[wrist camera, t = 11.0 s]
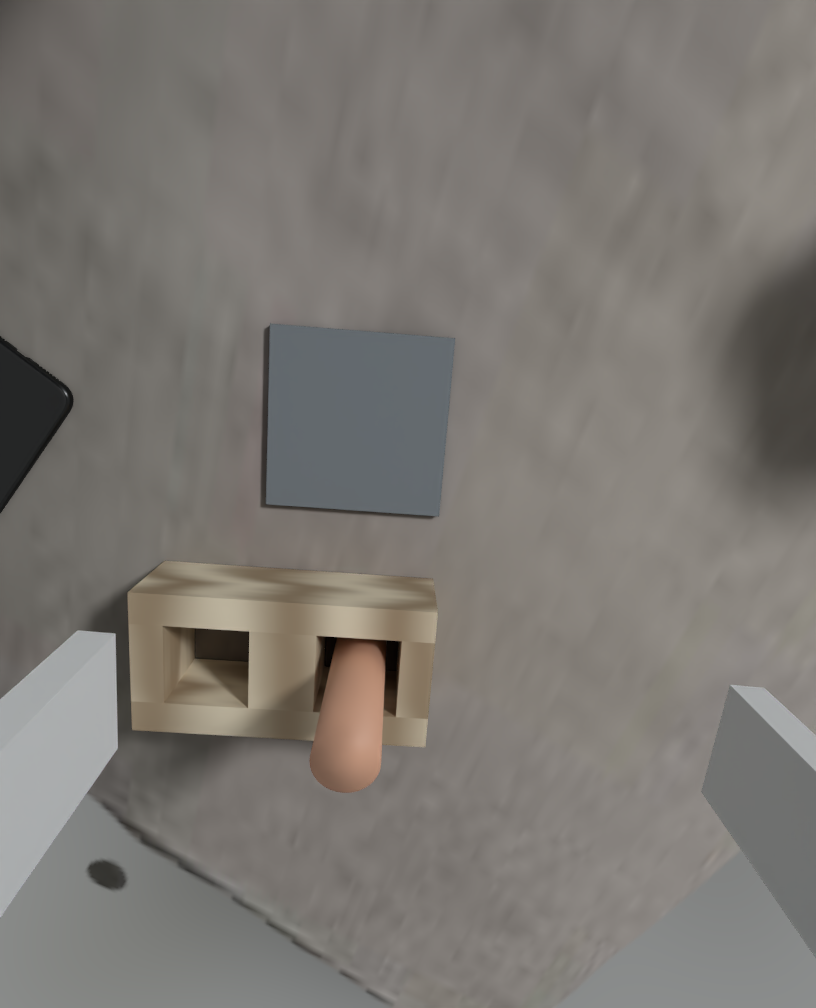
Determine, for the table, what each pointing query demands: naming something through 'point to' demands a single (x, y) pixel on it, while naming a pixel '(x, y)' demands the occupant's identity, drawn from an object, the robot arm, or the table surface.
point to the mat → (357, 419)
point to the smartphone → (26, 415)
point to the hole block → (272, 648)
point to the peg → (351, 717)
